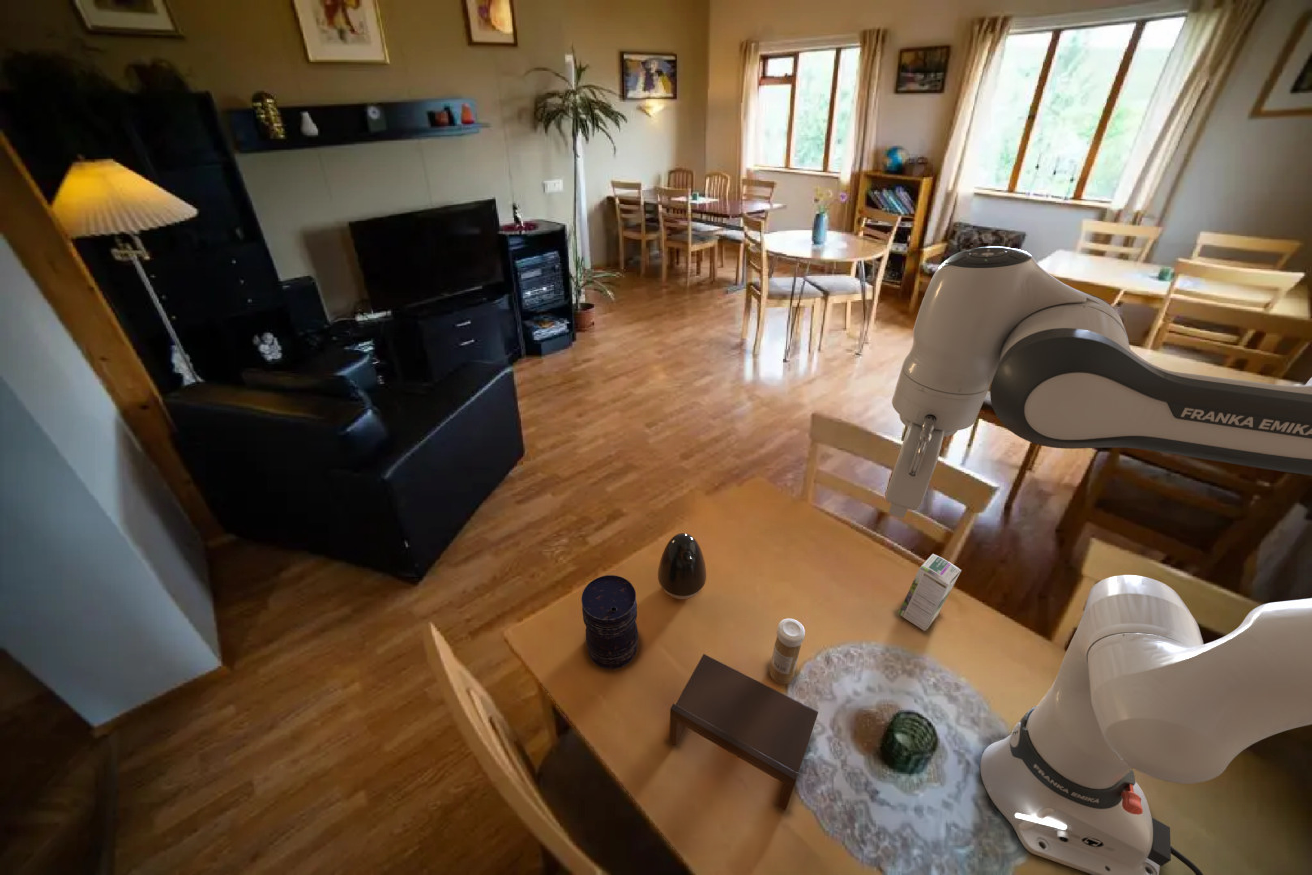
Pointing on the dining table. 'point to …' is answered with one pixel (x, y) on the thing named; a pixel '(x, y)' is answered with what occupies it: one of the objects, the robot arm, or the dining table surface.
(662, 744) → the dining table surface
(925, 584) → the syrup box
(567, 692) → the dining table surface
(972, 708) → the dining table surface
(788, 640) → the sprinkles bottle
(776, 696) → the desk shelf
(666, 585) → the black egg-shaped piece
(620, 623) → the storage jar
